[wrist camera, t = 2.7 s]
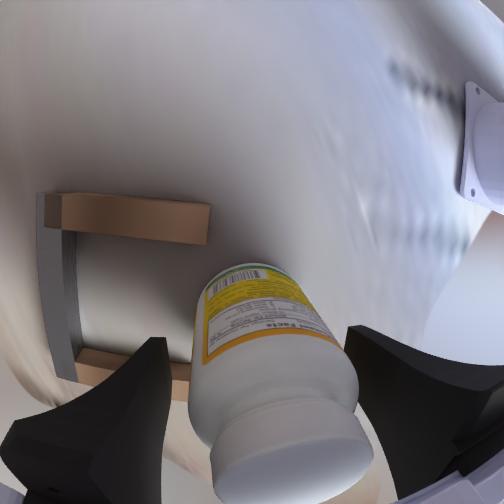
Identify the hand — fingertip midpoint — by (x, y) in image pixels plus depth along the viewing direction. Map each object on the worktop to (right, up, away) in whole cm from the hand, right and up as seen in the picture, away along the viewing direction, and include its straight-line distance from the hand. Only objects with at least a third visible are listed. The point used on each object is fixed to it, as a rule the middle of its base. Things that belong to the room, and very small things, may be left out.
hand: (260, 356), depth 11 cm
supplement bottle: (0, +1, +4) cm, 4 cm away
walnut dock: (-6, +2, +3) cm, 7 cm away
